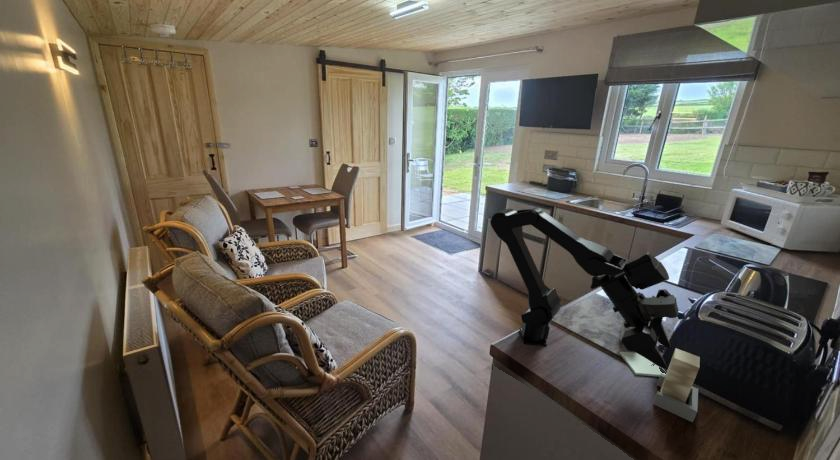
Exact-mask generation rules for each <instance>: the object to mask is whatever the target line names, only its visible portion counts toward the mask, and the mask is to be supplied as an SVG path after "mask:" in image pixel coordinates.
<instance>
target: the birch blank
mask: <svg viewBox="0 0 840 460" xmlns="http://www.w3.org/2000/svg"><path fill="white" fill-rule="evenodd" d="M700 362H701V357H700V356H698V355H695V354H692V353H690V352H688V351H684V350H681V349H679V348H676V347H675V348H674V351H673V354H672V356H671V360H670V363H669V365H668V366H667V370H666V376H665V378H664V381H663V384H662V387H660V390H659V392H661V393H663V394H665V395H667V396H670V397H672V398H674V399H676V400H679V401H681V402H683V403H685V404H687V403H686V402H687V400H688V399H687V398H688V395H689V393H690V390H691V388H692V386H693V385H694V382H695V380H696V377H697V375H698V372H699V370H700Z"/></svg>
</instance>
